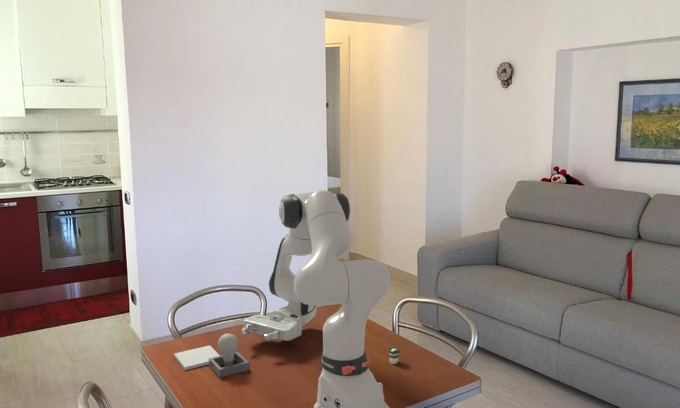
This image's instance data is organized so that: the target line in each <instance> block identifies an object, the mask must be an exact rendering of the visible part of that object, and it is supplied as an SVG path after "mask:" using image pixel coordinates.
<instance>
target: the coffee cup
mask: <svg viewBox="0 0 680 408" xmlns="http://www.w3.org/2000/svg"><path fill="white" fill-rule="evenodd" d="M400 353H401V352H400V349H399V348H398V347H396V346H392V347H389V348H388V357H389V363H390V364H392V365H395V364H398V362H399V356H400V355H399V354H400Z"/></svg>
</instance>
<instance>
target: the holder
mask: <svg viewBox="0 0 680 408" xmlns="http://www.w3.org/2000/svg"><path fill="white" fill-rule="evenodd" d="M233 362H237V363H235V364H233V365H231V366H227V367H225V366H223V367H221V366H220V365H225V363H224V359H223V355H222V354H221V355H220V356H217V357H213V358H209V364H208V366H209V367H210V369H211V370H212V371H213V372H214V373H215V374H216V375H217V376H218V378H220V379H221V378H224V377H228V376H231V375H236V374H239V373H243V372H247V371H250V361H248V359H246V358H245V357H244V356H243V355H242V354H241V353H240V352H239V351H235V353H234V360H233Z"/></svg>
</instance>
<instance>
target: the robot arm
mask: <svg viewBox="0 0 680 408" xmlns="http://www.w3.org/2000/svg"><path fill="white" fill-rule="evenodd" d="M350 213H351V205H350V201H349V198H348V197H347V196H346V195H345V194H343V193H341V192H333V193H332V192H331V191H330V190H317V191H315V192H314V191H313V192H304V193H297V194H295V193H292V194H291V193H290V194H288V195H284V196H283V197H282V198H281V199H280V203H279V206H278V216H279V219H280V221H281V224H282V225H283V226H284V227H285V228H289V230H288V231H289V232H288V234H286V235H284V237H282V239H281V240H280V243H279V246H278V249H277V253H276V259H275V260H274V261H275V262H274V266H273V271H272V273H271V276H269V277H270V278H269V281H268V287H269V292H270V293H271V294H272V295H274V296H276V297H278V298H280V299H282V300H284V301H286V302H287V305H286V306H282V307H280V308H278V309H275V310H273V311H272V312H271V313H270V315H269V316H267V315H264V314H263V315H262V314H254V315H251V316H248V317H245V318H244V319H243V322H242V327H243V328H242V330H241V333H242V334H243V335H249V334H250V332H252V333H255V334H260V335H262V336H263V339H264V341H271V340H276V339H278V340H281V341H286V342H287V341H293V340H294V339H296V338H297V337H300V336H301V335H302V332H303V331H302V330H303V328H302V327H303V326H305V325H306V324H308V323H309V322H310V321H312V319H313V318H314V317H315V315H316V314H317V306H318V307H319V306H320V307H324V306H332V305H341V304H342V305H341V306H340V308H339V309H338V310H337V311H336V312H335V313H333V314H331V315H330V316H329V317H327V319H326V321H325V322H324V324H323V327H322V351H321V357H320V360H321V366H322V369H321V372H320V376H319V377H318V380H317V381H318V382H317V394H316V395H317V396H316V402H315V403H314V405H313V408H391V407H390V406H389V405H388V404H387V402H385V395H384V385H383V383H382V382H378V381H377V380H376V378H375V376H374V373H372V372H371V370H370V368H369V367H370V366H371V364H369V363H370V362H371V361H370V360H368V356H367V352H366V350H365V335H366V325H367V321H368V319H369V316H370V314H371V312H372V310H373V308H374V307H375V306H376V304H377V303H378V301H380V300H381V299H382V298H384V297H385V296H386V294H387V293H388V291H389V290H390V286H391V275H390V274H391V273H390V271H389V269H388V267H387V266H386V264H384V262H382V261H380V260H373V259H363V258H362V259H354V260H353V259H351V260H343V261H342V260H339V259H342V258H343V256H345V255H346V254H347V253H348V252H349V251H350V249H351V247H352V243H353V242H352V241H353V237H352V235H351V234H352V233H351V231H350V228H349V225H348V221H349V219H350V216H351V215H350ZM309 255H310V257H309V259H308V260H307V262H306V263H305V264H304V265H303V266H301V267H300V268H299V269H298V271H297V272H296V274H295V273H293V272H292V270H291V268H290V266H291V262H292V259H293V256H297V257H305V256H309Z"/></svg>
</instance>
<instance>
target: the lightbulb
mask: <svg viewBox="0 0 680 408" xmlns="http://www.w3.org/2000/svg"><path fill="white" fill-rule="evenodd" d="M238 346H239V341H238V337H236V336H235V334H232V333H224V334H222V335H221V336H220V337H219V339H218V341H217V347H218V350H219V352H220V353H221V355H223V359H224V363H225V364H224V367H227V366H231V365H234V361H233V360H234V353H235V352H237V348H238Z"/></svg>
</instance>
